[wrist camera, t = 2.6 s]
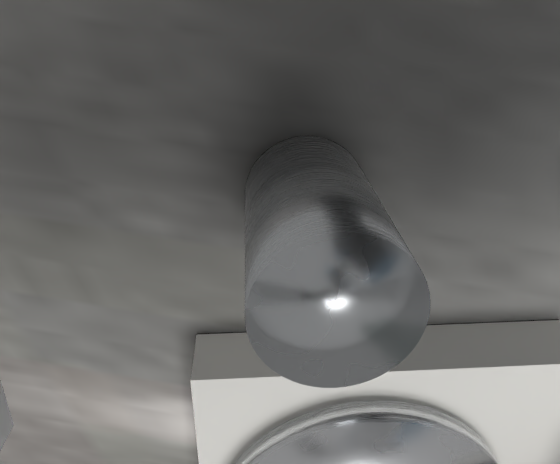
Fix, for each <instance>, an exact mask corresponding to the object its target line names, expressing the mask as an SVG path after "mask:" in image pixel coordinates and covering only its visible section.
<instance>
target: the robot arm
mask: <svg viewBox="0 0 560 464" xmlns="http://www.w3.org/2000/svg"><path fill="white" fill-rule="evenodd" d="M13 425H14V424H13V421H12V417H11V414H10V411H9V407H8V404H7V401H6V397H5V394H4V390H3V387H2V384H1V380H0V451H1V449H2V447H3V445H4V443H5V441H6V439H7V437H8V435H9V433H10V431H11V429H12V427H13Z"/></svg>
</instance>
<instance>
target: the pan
mask: <svg viewBox="0 0 560 464" xmlns="http://www.w3.org/2000/svg"><path fill="white" fill-rule="evenodd" d="M234 464H498V463H497V461H496V459H495V457H494V455H493V453H492V451H491V450H490V448H489V447H488V445H487V444H486V443H485V441H484V440H483V439H482V438H481V437H480V436H479V435H478V434H477V433H476V432H475V431H474V430H473V429H472V428H470V427H469V426H467V425H466V424H464V423H463V422H462V421H460V420H458V419H456V418H454V417H452V416H450V415H448V414H446V413H444V412H441V411H439V410H436V409H433V408H430V407H427V406H422V405H418V404H413V403H408V402H398V401H381V400H368V401H358V402H348V403H343V404H338V405H333V406H328V407H324V408H321V409H318V410H314V411H311V412H308V413H305V414H303V415H300V416H298V417H296V418H293V419H291V420H288V421H287V422H285V423H283V424H281V425H279V426H277V427H276V428H274V429H272V430H270V431H269V432H267V433H266V434H265V435H263V436H262V437H260V438H259V439H258V440H256V441H255V442H254V443H253V444H252V445H251V446H249V447H248V448H247V449H246V450H245V451H244V452H243V453H242V454H241V455H240V457H239V458H238V459H237V460H236V461H235V463H234Z"/></svg>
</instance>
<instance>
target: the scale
mask: <svg viewBox="0 0 560 464" xmlns="http://www.w3.org/2000/svg"><path fill="white" fill-rule="evenodd" d="M190 382H191V392H192V401H193V411H194V421H195V431H196V441H197V451H198V460H199V464H234V463H235V461H236V460H237V459H238V458H239V457H240V455H241V454H242V453H243V452H244V451H245V450H246V449H247V448H248V447H249V446H251V445H252V444H253V443H254V442H255V441H256V440H258V439H259V438H260V437H262V436H263V435H265V434H266V433H267V432H269V431H270V430H272V429H274V428H276V427H277V426H279V425H281V424H283V423H285V422H287V421H288V420H291V419H293V418H296V417H298V416H300V415H303V414H305V413H308V412H311V411H314V410H318V409H321V408H324V407H328V406H333V405H338V404H343V403H348V402H358V401H368V400H381V401H398V402H408V403H413V404H418V405H422V406H427V407H430V408H433V409H436V410H439V411H441V412H444V413H446V414H448V415H450V416H452V417H454V418H456V419H458V420H460V421H462V422H463V423H464V424H466V425H467V426H469V427H470V428H472V429H473V430H474V431H475V432H476V433H477V434H478V435H479V436H480V437H481V438H482V439H483V440H484V441H485V443H486V444H487V445H488V447H489V448H490V450H491V451H492V453H493V455H494V457H495V459H496V461H497V463H498V464H560V320H547V321H522V322H498V323H473V324H448V325H426V328H425V331H424V333H423V335H422V337H421V339H420V341H419V342H418V344H417V345H416V346H415V348H414V349H413V350H412V352H411V353H410V354H409V355H408V356H407V357H406V358H405V359H404V360H403V361H402V362H400V363H399V364H398V365H397V366H395V367H394V368H392V369H391V370H390V371H388V372H386V373H384V374H383V375H381V376H379V377H377V378H374V379H372V380H370V381H367V382H364V383H361V384H357V385H352V386H347V387H339V388H320V387H312V386H307V385H302V384H299V383H296V382H293V381H291V380H289V379H286V378H284V377H282V376H281V375H279V374H277V373H276V372H274V371H273V370H272V369H270V368H269V367H268V366H267V365H266V364H265V363H264V362H263V361H262V360H261V359H260V358H259V357H258V355H257V354H256V352H255V351H254V349H253V347H252V345H251V343H250V341H249V338H248V335H247V333H223V334H198V335H196V342H195V350H194V357H193V365H192V372H191V379H190Z"/></svg>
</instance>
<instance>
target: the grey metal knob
mask: <svg viewBox="0 0 560 464" xmlns="http://www.w3.org/2000/svg"><path fill="white" fill-rule="evenodd" d="M429 314H430V293H429V289H428V285H427V282H426V279H425V277H424V275H423V273H422V271H421V269H420V268H419V266H418V264H417V263H416V261H415V259H414V257H413V256H412V254H411V252H410V251H409V249H408V247H407V246H406V244H405V242H404V241H403V239H402V237H401V236H400V234H399V232H398V231H397V229H396V227H395V225H394V224H393V222H392V220H391V219H390V217H389V215H388V214H387V212H386V210H385V209H384V207H383V205H382V204H381V202H380V200H379V199H378V197H377V195H376V194H375V192H374V190H373V188H372V187H371V185H370V183H369V182H368V180H367V178H366V177H365V175H364V173H363V172H362V170H361V168H360V167H359V165H358V163H357V162H356V160H355V159H354V157H353V156H352V155H351V154H350V153H349V152H348V151H347V150H346V149H345V148H343V147H342V146H340V145H339V144H337V143H335V142H333V141H331V140H328V139H325V138H321V137H315V136H300V137H294V138H290V139H287V140H284V141H281V142H279V143H277V144H275V145H274V146H272V147H271V148H269V149H268V150H267V151H266V152H264V153H263V154H262V155H261V156H260V158H259V159H258V160H257V161H256V163H255V164H254V166H253V167H252V169H251V171H250V173H249V176H248V179H247V182H246V188H245V325H246V331H247V335H248V338H249V341H250V343H251V345H252V347H253V349H254V351H255V352H256V354H257V355H258V357H259V358H260V359H261V360H262V361H263V362H264V363H265V364H266V365H267V366H268V367H269V368H270V369H272V370H273V371H274V372H276V373H277V374H279V375H281V376H282V377H284V378H286V379H289V380H291V381H293V382H296V383H299V384H302V385H307V386H312V387H320V388H339V387H347V386H352V385H357V384H361V383H364V382H367V381H370V380H372V379H374V378H377V377H379V376H381V375H383V374H384V373H386V372H388V371H390V370H391V369H392V368H394V367H395V366H397V365H398V364H399V363H400V362H402V361H403V360H404V359H405V358H406V357H407V356H408V355H409V354H410V353H411V352H412V350H413V349H414V348H415V346H416V345H417V344H418V342H419V341H420V339H421V337H422V335H423V333H424V331H425V328H426V325H427V323H428V318H429Z"/></svg>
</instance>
